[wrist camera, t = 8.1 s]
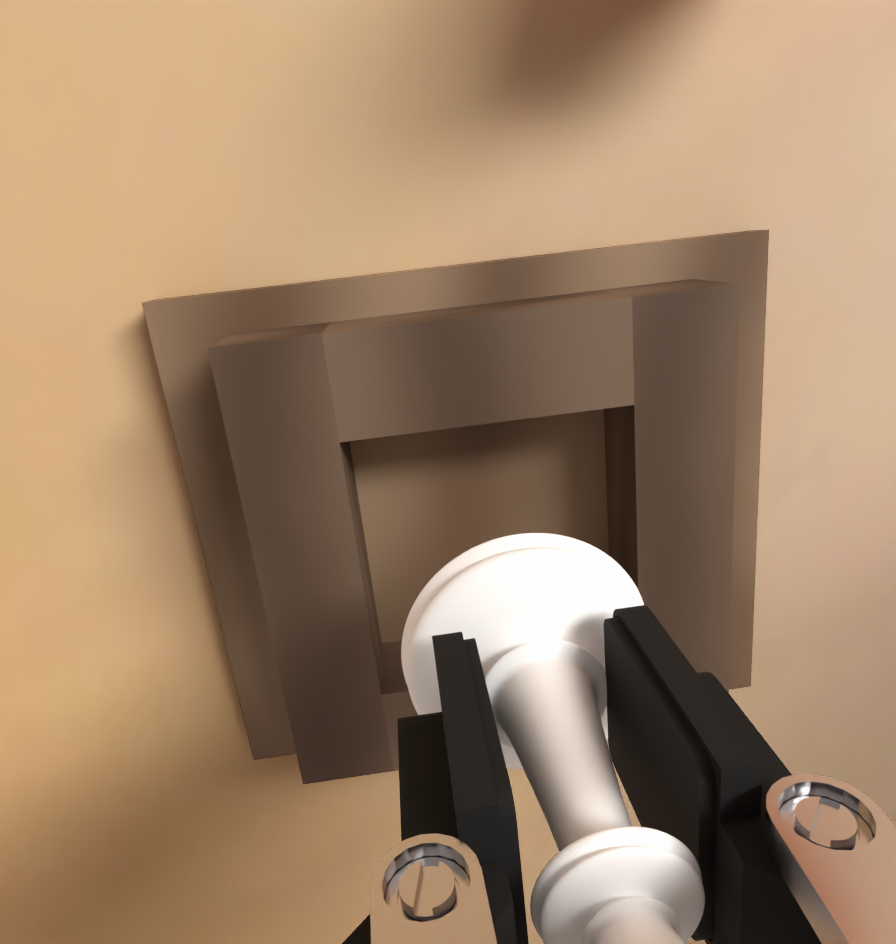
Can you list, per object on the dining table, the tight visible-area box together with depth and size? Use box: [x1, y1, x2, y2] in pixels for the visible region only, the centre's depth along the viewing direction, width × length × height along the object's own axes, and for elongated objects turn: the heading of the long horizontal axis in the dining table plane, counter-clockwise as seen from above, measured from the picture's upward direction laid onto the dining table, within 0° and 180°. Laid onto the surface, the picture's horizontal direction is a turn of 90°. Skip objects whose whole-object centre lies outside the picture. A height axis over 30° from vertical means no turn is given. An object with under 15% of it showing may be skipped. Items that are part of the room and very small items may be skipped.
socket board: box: [142, 230, 769, 784], centre depth 19 cm, size 16×14×4 cm
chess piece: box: [401, 533, 705, 944], centre depth 9 cm, size 5×5×10 cm
